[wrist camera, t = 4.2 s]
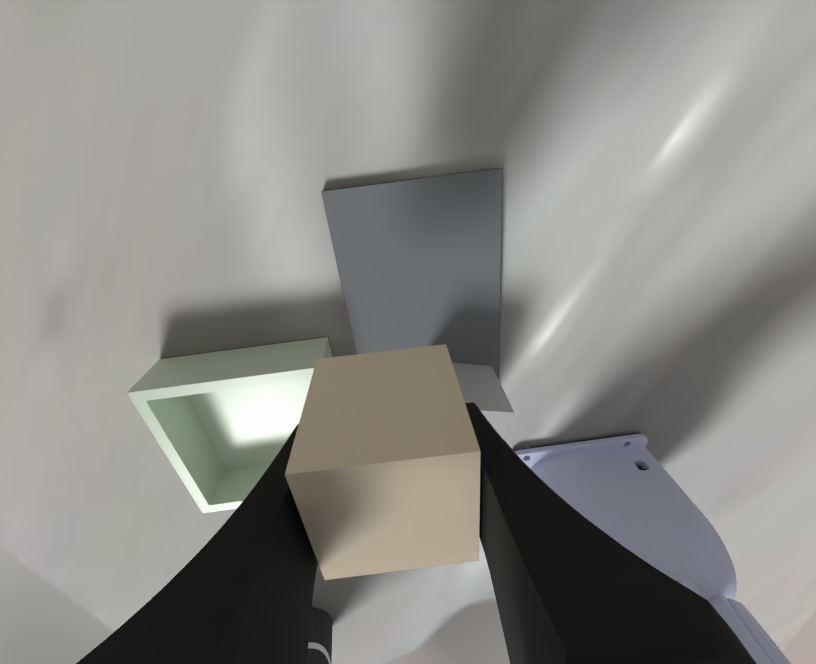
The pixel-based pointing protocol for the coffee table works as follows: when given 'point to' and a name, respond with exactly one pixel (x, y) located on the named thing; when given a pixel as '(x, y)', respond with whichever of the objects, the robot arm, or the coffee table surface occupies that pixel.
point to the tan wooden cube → (386, 464)
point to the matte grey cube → (485, 394)
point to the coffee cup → (320, 638)
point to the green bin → (227, 413)
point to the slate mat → (422, 263)
